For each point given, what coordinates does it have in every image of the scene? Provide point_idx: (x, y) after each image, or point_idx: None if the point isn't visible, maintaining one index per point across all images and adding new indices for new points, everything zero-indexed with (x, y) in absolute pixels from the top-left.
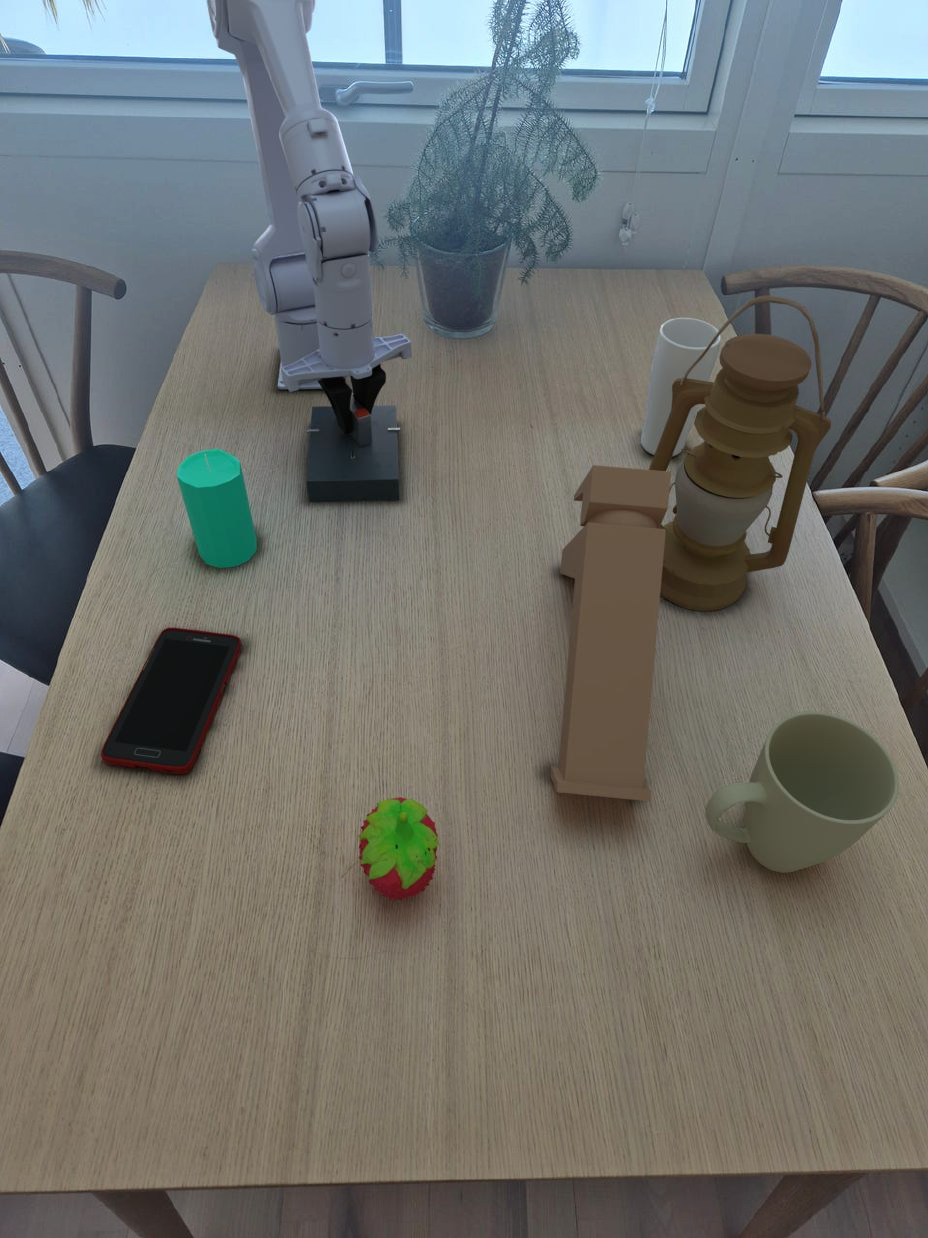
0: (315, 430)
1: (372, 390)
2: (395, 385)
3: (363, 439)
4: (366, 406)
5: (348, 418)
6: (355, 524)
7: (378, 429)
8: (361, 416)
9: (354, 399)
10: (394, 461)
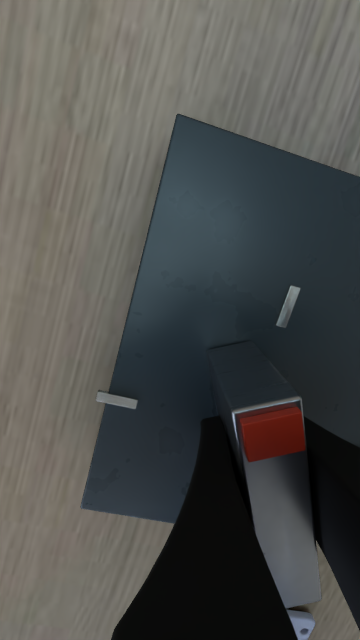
0: None
1: (222, 560)
2: (62, 587)
3: (244, 352)
4: (230, 475)
5: (307, 433)
6: (327, 76)
7: (165, 411)
8: (281, 409)
9: (262, 531)
10: (162, 227)
